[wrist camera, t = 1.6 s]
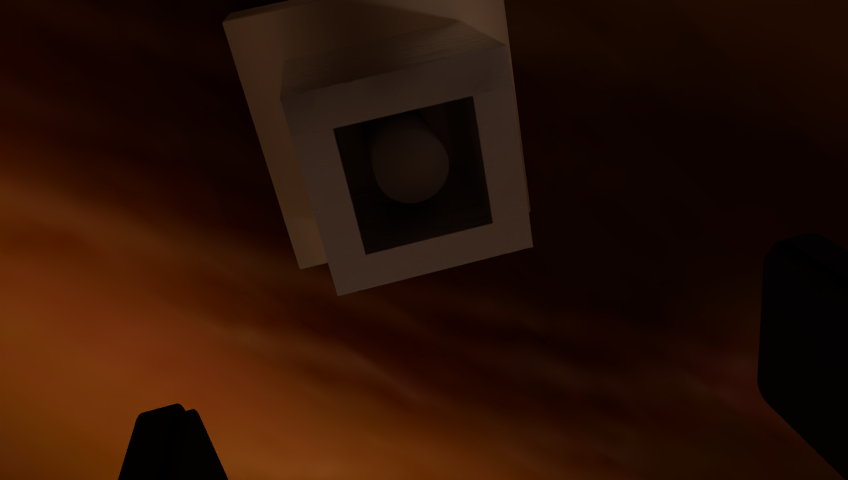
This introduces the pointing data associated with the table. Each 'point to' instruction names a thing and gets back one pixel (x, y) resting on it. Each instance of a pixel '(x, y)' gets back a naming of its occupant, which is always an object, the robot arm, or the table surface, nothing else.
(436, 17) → the peg stand
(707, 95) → the table surface
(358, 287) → the hollow square tube
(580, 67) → the table surface
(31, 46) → the table surface
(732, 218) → the table surface
